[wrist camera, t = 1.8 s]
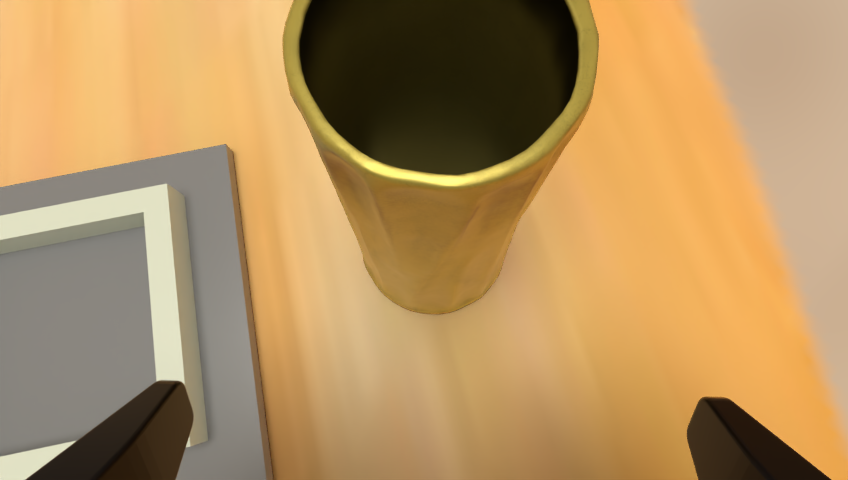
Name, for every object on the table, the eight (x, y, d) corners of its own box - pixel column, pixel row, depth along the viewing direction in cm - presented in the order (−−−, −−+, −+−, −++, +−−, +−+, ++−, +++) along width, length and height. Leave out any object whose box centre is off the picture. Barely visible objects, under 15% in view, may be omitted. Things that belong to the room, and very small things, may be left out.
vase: (439, 345, 21) (457, 303, 7) (332, 247, 22) (172, 49, 8) (533, 238, 22) (707, 23, 8) (427, 150, 23) (426, -172, 9)
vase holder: (273, 480, 20) (253, 494, 18) (-95, 560, 19) (-164, 585, 17) (232, 151, 23) (211, 128, 21) (-83, 212, 23) (-139, 195, 20)
